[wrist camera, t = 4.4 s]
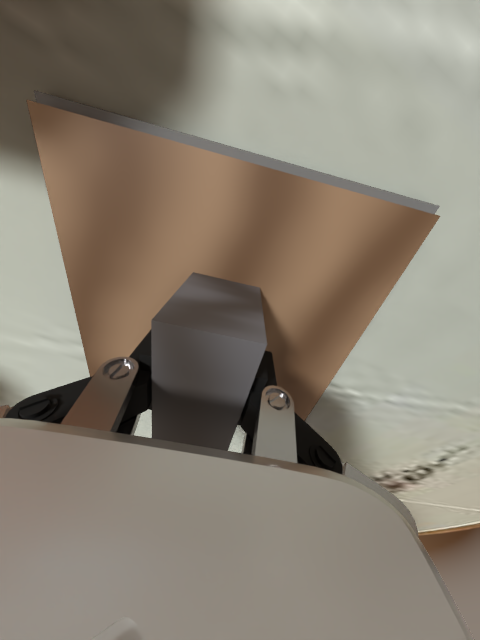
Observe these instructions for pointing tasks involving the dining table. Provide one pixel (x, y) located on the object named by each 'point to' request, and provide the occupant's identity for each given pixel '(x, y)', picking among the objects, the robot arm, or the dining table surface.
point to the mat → (230, 151)
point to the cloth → (214, 267)
